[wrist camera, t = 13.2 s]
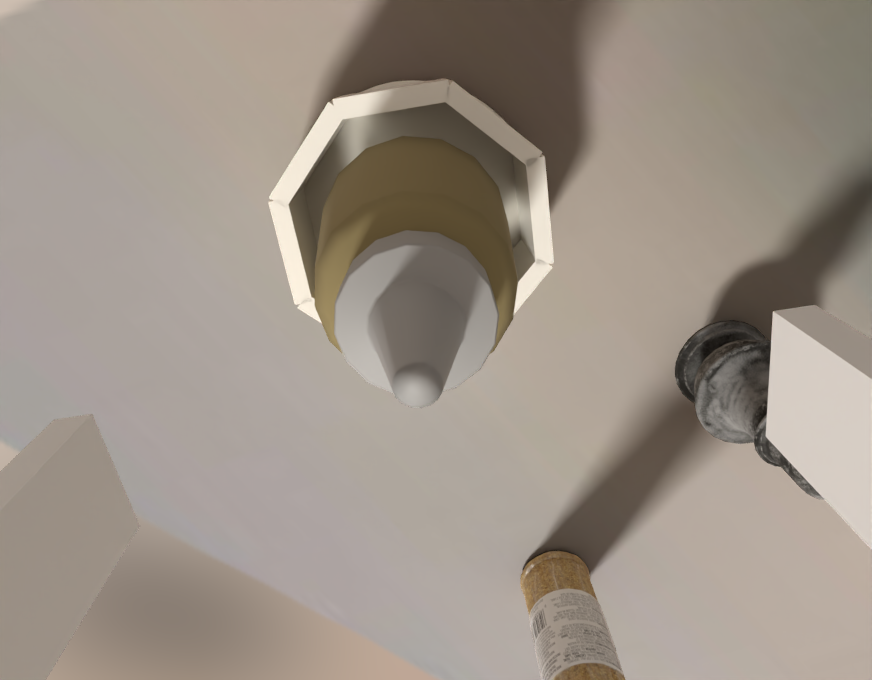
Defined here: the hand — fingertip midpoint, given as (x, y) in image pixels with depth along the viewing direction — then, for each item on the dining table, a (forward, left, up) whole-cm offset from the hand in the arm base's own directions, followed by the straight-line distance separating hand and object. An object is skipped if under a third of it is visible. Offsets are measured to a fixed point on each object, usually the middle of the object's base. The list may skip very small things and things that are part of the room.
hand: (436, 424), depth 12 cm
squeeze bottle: (0, 0, -20) cm, 20 cm away
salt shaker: (-3, +19, -21) cm, 28 cm away
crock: (0, 0, -21) cm, 21 cm away
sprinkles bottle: (+14, +21, -21) cm, 33 cm away
